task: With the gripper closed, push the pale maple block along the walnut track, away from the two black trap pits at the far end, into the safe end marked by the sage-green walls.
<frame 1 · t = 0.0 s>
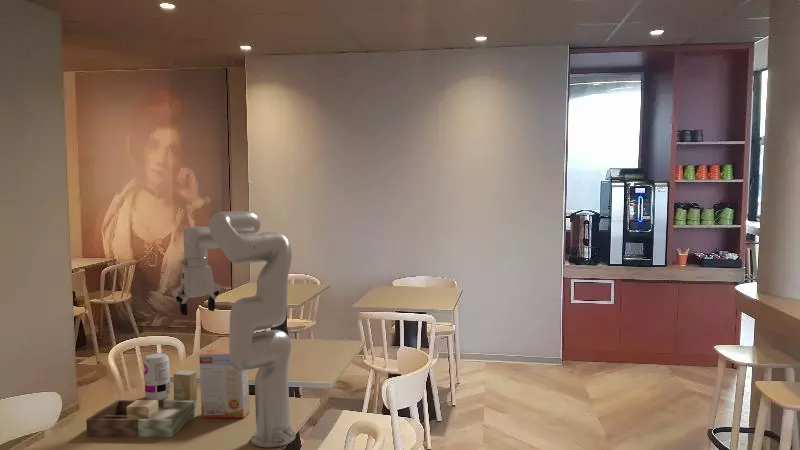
hand: (198, 312, 203), 31 cm above the table, tool pointing down, fingers open, 9 cm apart
maple block: (143, 416, 185), point 3 cm above the table, touching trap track
cracker box: (225, 415, 193), on the table
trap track: (143, 425, 185), on the table
supplement can: (157, 398, 211), on the table
skincare box: (186, 408, 200), on the table
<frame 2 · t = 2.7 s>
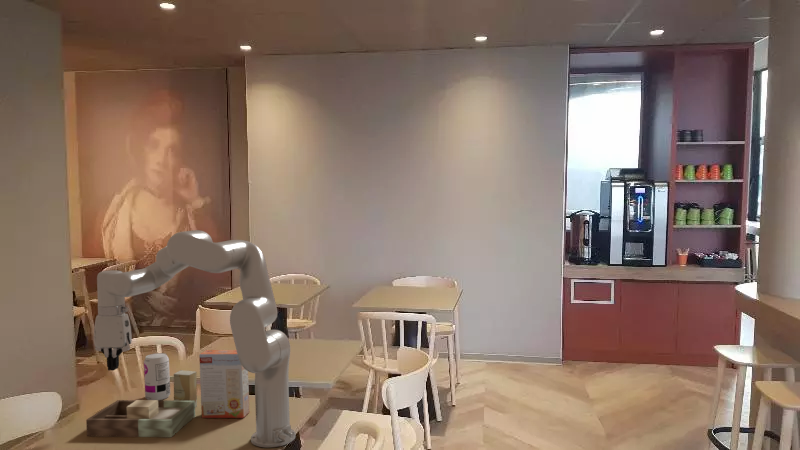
hand: (113, 369, 185), 18 cm above the table, tool pointing down, fingers closed
nothing on the table moved.
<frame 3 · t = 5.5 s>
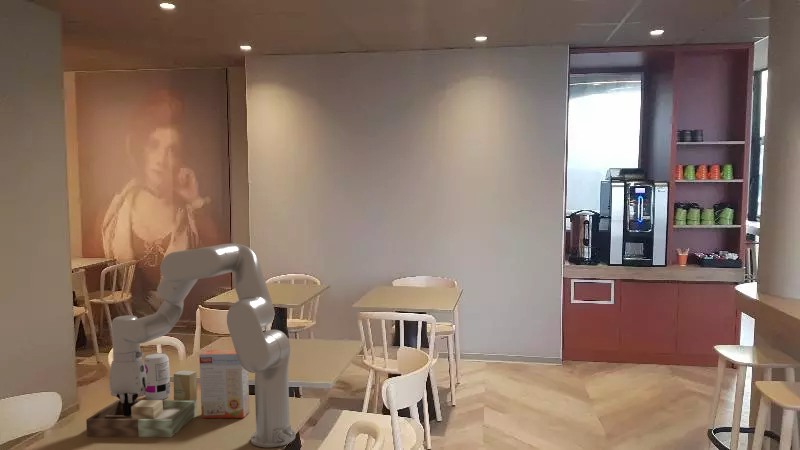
hand: (129, 414, 185), 4 cm above the table, tool pointing down, fingers closed
maple block: (147, 416, 185), point 3 cm above the table, touching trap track
everything else where it was.
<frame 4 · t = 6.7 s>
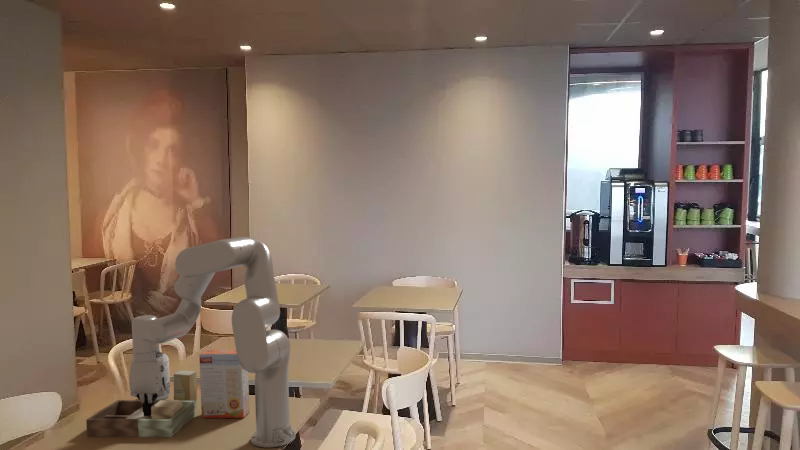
hand: (148, 414, 185), 4 cm above the table, tool pointing down, fingers closed
maple block: (167, 416, 185), point 3 cm above the table, touching gripper, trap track
everything else where it was.
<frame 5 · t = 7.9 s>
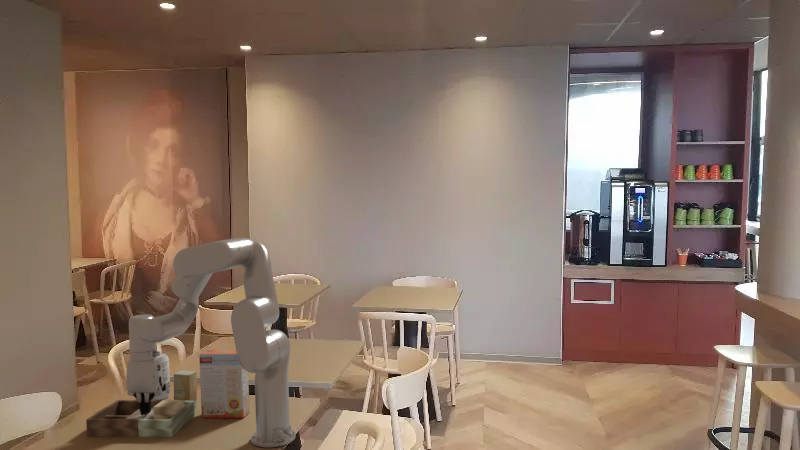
hand: (145, 413, 185), 4 cm above the table, tool pointing down, fingers closed
maple block: (169, 416, 185), point 3 cm above the table, touching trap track
everything else where it was.
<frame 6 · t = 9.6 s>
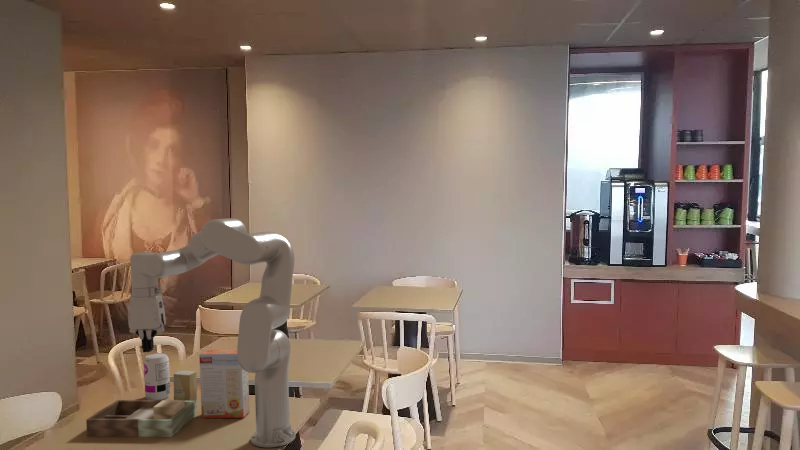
hand: (148, 351, 185), 23 cm above the table, tool pointing down, fingers closed
nothing on the table moved.
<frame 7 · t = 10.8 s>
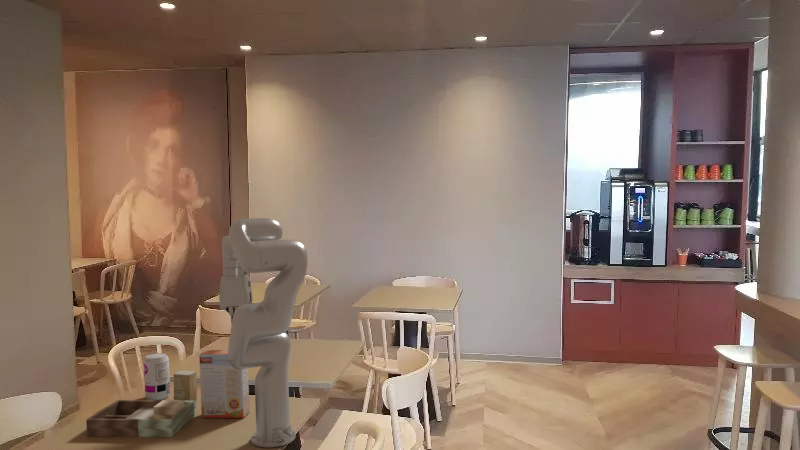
hand: (236, 326, 199), 27 cm above the table, tool pointing down, fingers closed
nothing on the table moved.
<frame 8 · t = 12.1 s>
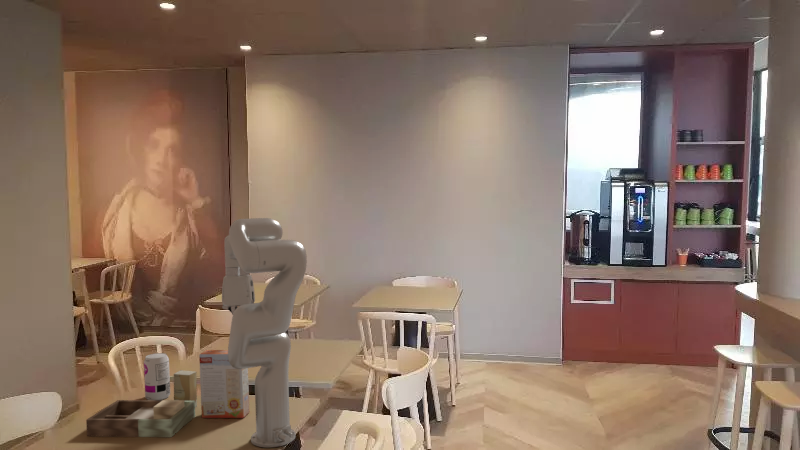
hand: (239, 326, 200), 27 cm above the table, tool pointing down, fingers closed
nothing on the table moved.
at the end: maple block 1.0 cm from the target spot, point 3.0 cm above the table; maple block tilted 0° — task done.
